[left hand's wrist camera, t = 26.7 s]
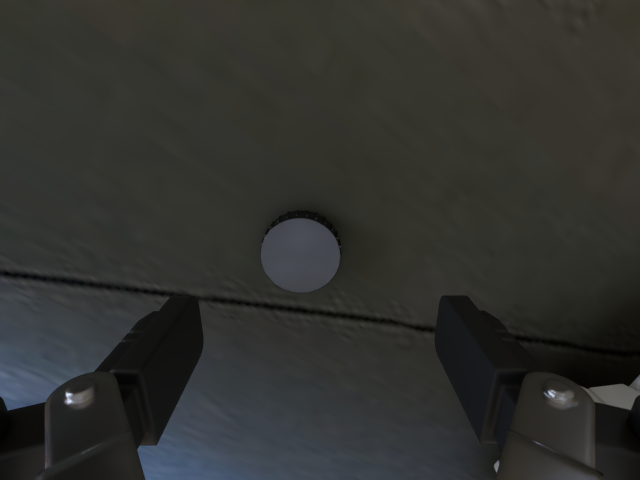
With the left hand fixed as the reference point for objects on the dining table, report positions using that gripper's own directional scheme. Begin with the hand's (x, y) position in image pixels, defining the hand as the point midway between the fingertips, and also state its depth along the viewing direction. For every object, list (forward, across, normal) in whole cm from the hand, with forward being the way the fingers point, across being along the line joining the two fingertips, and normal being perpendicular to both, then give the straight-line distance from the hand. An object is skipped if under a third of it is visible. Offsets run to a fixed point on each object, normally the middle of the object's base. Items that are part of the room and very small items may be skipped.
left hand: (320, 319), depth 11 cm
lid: (+10, -1, -2) cm, 10 cm away
